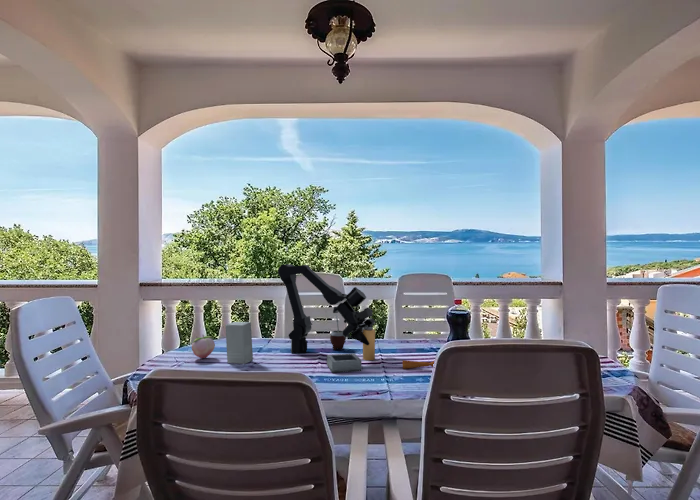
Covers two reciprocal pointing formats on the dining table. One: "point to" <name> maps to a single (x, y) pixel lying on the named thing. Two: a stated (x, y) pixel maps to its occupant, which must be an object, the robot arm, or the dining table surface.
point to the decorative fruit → (203, 346)
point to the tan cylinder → (369, 349)
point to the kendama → (415, 364)
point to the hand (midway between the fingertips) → (371, 343)
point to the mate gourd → (337, 338)
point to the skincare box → (239, 342)
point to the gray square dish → (344, 363)
